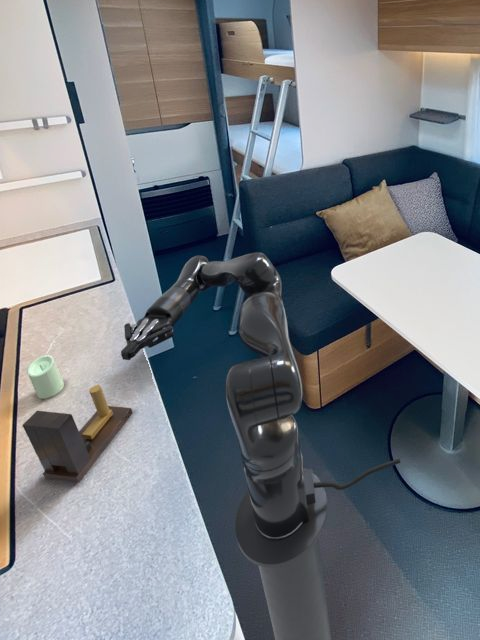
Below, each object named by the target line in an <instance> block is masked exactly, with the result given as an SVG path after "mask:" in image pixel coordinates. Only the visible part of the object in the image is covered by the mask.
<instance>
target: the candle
mask: <svg viewBox="0 0 480 640" xmlns="http://www.w3.org/2000/svg"><path fill="white" fill-rule="evenodd" d="M26 370H27V375H28V377H29V380H30V382H31V384H32V387H33V389H34V391H35V393H36V395H37V397H38V398H39V399H40V400H41V399H42V400H44V399H50V398H53V397H54V396H56V395H57V394H59V393H60V392H61V391H62V390H63V388H64V387H65V383H64V379H63V378H62V375H61V374H60V371H59V367H58V366H57V363H56V361H55V358H54V356H52V355H49V354H48V355H47V354H46V355H42V356H39V357H38V358H35V360H33V361H32V362H31V363H30V364H29V366H28V368H27V369H26Z"/></svg>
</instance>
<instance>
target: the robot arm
mask: <svg viewBox="0 0 480 640" xmlns="http://www.w3.org/2000/svg"><path fill="white" fill-rule="evenodd" d="M234 282H235V283H236V284H237V285H238V286H239V287H240V289H241V290H242V291H243V293H244V295H245V296H246V297H247V298H246V300H244V301H243V303H242V304H241V307H240V309H239V313H238V336H239V339H240V340H241V342H242V344H243V345H244V346H245V347H246V348H247V349H249V350H250V351H251V352H252V353H254V354H256V355H258V356H260V357H259V358H255V359H251V360H247V361H242V362H238V363H235V364H233V365H232V366H231V367H230V368H229V370H228V371H227V373H226V377H225V382H224V383H225V389H224V391H225V399H226V405H227V409H228V413H229V417H230V420H231V422H232V426H233V430H234V432H235V433H234V434H235V436H236V439H237V440H236V441H237V445H238V448H239V452H240V457H241V462H242V466H243V471H244V476H245V480H246V485H247V490H249V495H250V499H251V504H252V509H253V514H254V520H255V525H256V528H257V530H258V532H259V533H260V534H261V535H262V536H263V537H265V538H266V539H269V540H283V539H286V538H288V537H290V536H291V535H293V534H294V533H295V532H296V531H298V529H299V528H300V527H301V526H302V524H304V523H307V522H309V510H308V507H309V505H310V504H314V503H316V500H315V489H314V488H321V487H324V488H332V489H335V490H337V491H342V490H345V489H348V488H351V487H352V486H354V485H356V484H357V483H359V482H360V481H361V480H363V479H365V478H366V477H368V476H370V475H372V474H375V473H376V472H379V471H382V470H385V469H387V468H390V467H393V466H396V465H399V464H401V458H396V459H393V460H390V461H387V462H384V463H382V464H379V465H376V466H374V467H371V468H370V469H368V470H366V471H364V472H362V473H360V474H359V475H358V476H356V477H355V478H353V479H352V480H350V481H347V482H344V483H342V484H340V483H336V482H334V481H321V482H314V478H313V473H314V471H313V468H312V467H311V468H305V463H304V456H303V455H304V454H303V453H302V449H301V448H302V447H301V442H300V435H299V427H298V424H297V420H296V419H295V417H294V416H293V415H296V414H297V413H298V412H299V410H300V409H301V407H302V404H303V398H304V397H303V396H304V392H303V391H304V390H303V382H302V377H301V373H300V370H299V365H298V363H297V358H296V356H295V353H294V350H293V346H292V343H291V340H290V333H289V332H290V331H289V326H288V325H289V324H288V319H287V314H286V309H285V306H284V301H283V298H282V277H281V275H280V274H279V272H278V270H277V269H276V267H275V266H274V264H273V263H272V262H271V260H270V259H269V257H268V256H267V255H266V254H265V253H263V252H250V253H247V254H244V255H240V256H237V257H233V258H231V259H228V260H213V261H209V259H208V258H207V257H206V256H204V255H195V256H192V257H191V258H190V259H188V261H186V263H185V264H184V265H183V268H182V269H181V271H180V274H179V276H178V278H177V280H176V282H174V284H173V285H171V287H169V289H168V290H166V291H165V292H163V294H161V296H159V297H158V299H156V300H155V302H154V303H152V305H151V306H149V307H148V309H146V312H145V314H144V316H143V317H142V318H140V319H139V320H137V322H136V323H134V324H131V322H130V323H129V322H128V323H125V324H124V326H123V327H124V339H125V341H126V345H125V346H124V347H123V348H122V350H121V351H120V353H121V354H120V355H121V358H122V360H123V361H130V360H131V359H133V358H135V357H136V355H138V354H139V352H140V351H142V350H144V349H145V348H146V347H147V348H149V349H150V348H153V347H156V346H157V345H159V344H161V343H164V342H165V341H167V340H169V339H171V338H173V337H175V332H174V328H173V327H174V326H175V325H176V324H177V323H178V322H179V320H180V319H181V318H182V316H183V315H184V314H185V313H186V312H187V310H188V309H189V308H190V306H191V305H192V303H193V302H194V301H195V300H196V299H197V297H198V296H199V295H200V293H201V292H206V291H208V290H210V289H212V288H214V287H216V288H222V287H223V288H224V287H227V286H229V285H231V284H233V283H234ZM156 338H157V339H156ZM304 468H305V469H306V470H304Z"/></svg>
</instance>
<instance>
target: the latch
mask: <svg viewBox="0 0 480 640" xmlns="http://www.w3.org/2000/svg"><path fill="white" fill-rule="evenodd" d="M108 407H109V410H112V411H113V415H112V416H111V417H110V418H109V420H108V421H107V422H106V423H105V424H104V426H103V427H102V428H101V429H100V431H99V432H98V433H97V434H96V435H95V437H94V438H93V439H84V438H83V436H82V434H83V432H84V431H85V430H86V429H87V428H88V427H89V425H90V424H91V423H92V422H93V421H94V420H95V418H96V417H97V416H98V413H97V410H96V411H95V412H94V413H93V415H92V416H91V417H90V418H89V419H88V420H87V421H86V423H85V424H84V425H83V426H82V427H81V428H80V430H79V429H78V426H77V424H76V421H75V418H74V416H73V414H72V413H64V412H54V411H47V410H46V411H45V410H36V411H35V412H34V413H33V414H32V415H31V416H30V417H29V418H28V419H27V420H26V421H25V422H24V423H23V424H22V427H23V430H24V432H25V434H26V436H27V438H28V440H29V442H30V444H31V446H32V448H33V450H34V452H35V454H36V456H37V458H38V460H39V462H40V464H41V466H42V468H43V470H44V471H43V473H42V475H43V478H44V479H45V480H51V481H60V482H68V483H79V484H80V482H81V481H82V479H83V478H84V477H85V475H86V474H87V473H88V471H89V470H90V469H91V468H92V467H93V465H94V464H95V463H96V461H97V460H98V458H99V457H100V456H101V455H102V454H103V452H104V450H105V449H106V448H107V447H108V446H109V444H110V443H111V442H112V440H113V439H114V438H115V437H116V436H117V434H118V433H119V431H120V429H122V428H123V426H124V425H125V424H126V422H127V421H128V420H129V418H130V417H131V415H132V414H133V410H132V407H123V406H113V405H108Z"/></svg>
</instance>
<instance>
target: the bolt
mask: <svg viewBox="0 0 480 640" xmlns="http://www.w3.org/2000/svg"><path fill="white" fill-rule="evenodd" d="M88 393H89V395H90V397H91V400H92V402H93V405H94V408H95V410H96V411H97V413H98V416H97V417H96V418H95V420H94V421H93V422H92V423H91V424H90V425H89V427H88V428H87V429H86V430H85V431H84V432H83V434H82V436H83V438H84V439H93V438H94V437H95V435H96V434H97V433H98V432H99V431H100V429H101V428H102V427H103V426H104V424H105V423H106V422H107V421H108V420H109V418H110V417H111V416H112V415H113V411H112V410H109V407H108V406H109V405H108V403H107V399H106V396H105V394H104V391H103V388H102V386H101V385H100V384H95V385H93V386H91V387H90V388H89V391H88Z"/></svg>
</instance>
